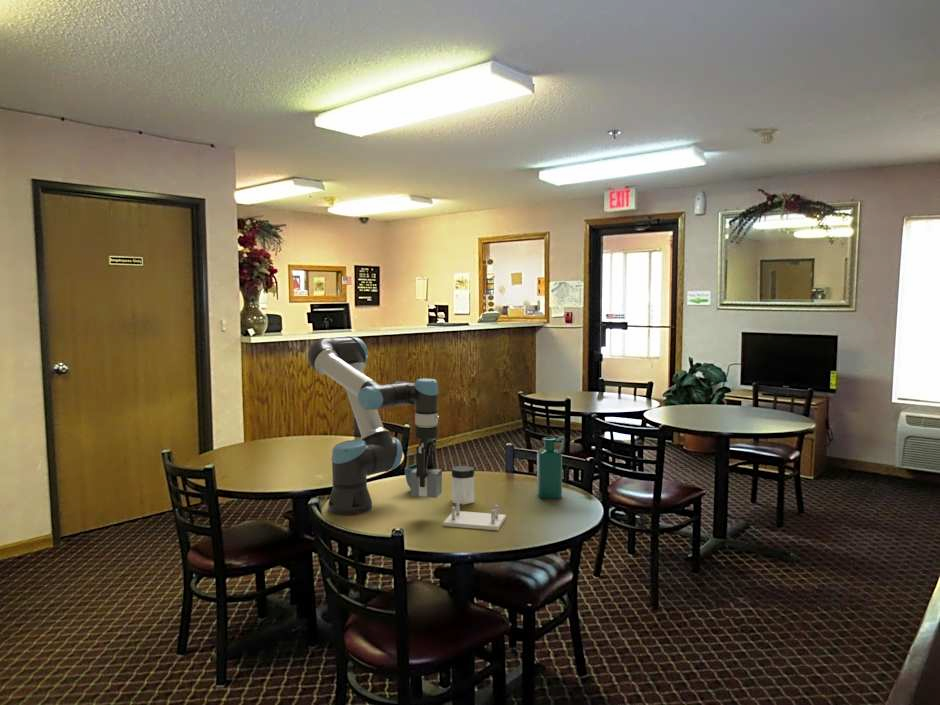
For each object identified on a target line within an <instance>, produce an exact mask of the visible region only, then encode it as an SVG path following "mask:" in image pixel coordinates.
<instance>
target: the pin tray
mask: <svg viewBox="0 0 940 705" xmlns="http://www.w3.org/2000/svg"><path fill="white" fill-rule="evenodd" d="M460 505H461V504H460V503H459V502H456V503H455V506H451V513H450V514H449V515H448V516H447V518H445V520H444V521H443V523H442V525H443V527H451V528H453V527H454V528H465V529H477V530H487V531H499V529H500V528H501V527H502V526H503V524H504V522H505V521H506V519H507V514H500V513H499V505H498V504H495V505H494V509H491V510H490V512H489V513H487V512H476V511H474V512H473V511H464V510H463V511H462V510H460Z"/></svg>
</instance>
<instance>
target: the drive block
mask: <svg viewBox="0 0 940 705" xmlns="http://www.w3.org/2000/svg"><path fill="white" fill-rule="evenodd" d="M416 470H417V468H415V469H414V470H413V471H411V488H410V496H414V497H423V498H431V499H432V498H433V499H434V498H435V499H437V498H438V497H439V496H440V495H441V494H442V493H443V490H442V489H443V487H442V485H443V470H442V469H439V468H437V469H429V468H427V473H426V477H427V497H426V496H419V477H416Z"/></svg>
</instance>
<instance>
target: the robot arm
mask: <svg viewBox="0 0 940 705" xmlns="http://www.w3.org/2000/svg"><path fill="white" fill-rule="evenodd" d="M368 353H369V351H368V348H367V345H366V344H365V342H364V341H363V340H362V339H361V338H359V337H356V336H341V337H340V336H339V337H322V338H319V339H317V340H316V339H315V340H314V341H313V342H312V344H311V345H310V346H309V348H308V350H307V355H306V356H307V361H308V364H309V365H310V367H311V368H312V370H314V371H316V372H317V373H318V374H320V375H326V376H328V377H329V378H330V379H331V380H333V381H334V382H336V383H338V384H339V385H340V386H342V387H343V388H344V389H345V392H346V394H347V398H348V400H349V402H350V406H351V409H352V412H353V415H354V418H355V421H356V424H357V427H358V430H359V433H360V438H359V439H352V440H351V439H349V440H344V441H342V442H339V443H337V444H335V445H334V446H333V448H332V449H331V450H332V451H331V452H332V453H331V465H332V466H331V468H332V488H331V489H332V490H331V492H330V496H329V499H328V502H327V508H328V512H329V513H330V514H332V515H336V516H354V515H360V514H365V513H367V512H369V511H370V510H372V508H373V500H372V497H371V494H370V492H369V488H368V487H367V485H368V484H367V479H368V478H367V476H373V475H375V474H381V473H385V472H389V471H392V470H395V469H396V468H398V467H399V465H401V462H402V459H403V454H404V453H403V452H404V451H403V446H402V443H401V442H400V440H399V439H398V438H397V437H394V436H392V434H391V433H390V430H388V429H386V428H385V427H384V424H383V422H382V419H381V416H380V413H379V411H378V409H384V408H391V407H396V406H397V407H398V406H404V405H409V406H414V408H415V411H414V412H415V413H414V424H415V429H414V430H415V436H414V437H416V438H418V439H419V440H420V441H419V445H418V446H416V447H415V449H416V464H417V470H416V477H419V496H418V497H420V496H426V497H425V498H428V497H427V477H426V473H427V468H429V469H438V468H437V439H436V438H437V437H438V436H439V432H438V431H439V426H438V424H439V419H440V416H439V409H438V408H439V384H438V380H436V379H434V378H426V377H425V378H418V379H416V380H415V382H410V381H406V380H404V381H402V380H399V381H395V382H393V383H388V384H380V383H378V382H376V381H375V380H373V379H371V377H369V376H367V375H366V374H365V369H366V366H367V361H368V358H369V357H368Z"/></svg>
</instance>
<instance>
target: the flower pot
mask: <svg viewBox="0 0 940 705" xmlns="http://www.w3.org/2000/svg"><path fill="white" fill-rule="evenodd" d="M415 468H417V463H414V464H412V465H409V466H407V467H404V473H405V474H404V475H405V479H406V483H407V485H408V487H409V489H411V471H413V470H414V469H415Z"/></svg>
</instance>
